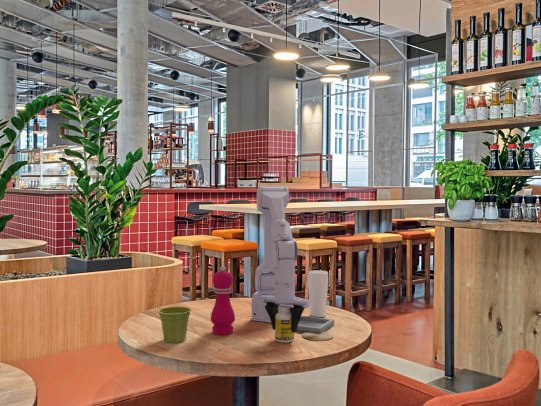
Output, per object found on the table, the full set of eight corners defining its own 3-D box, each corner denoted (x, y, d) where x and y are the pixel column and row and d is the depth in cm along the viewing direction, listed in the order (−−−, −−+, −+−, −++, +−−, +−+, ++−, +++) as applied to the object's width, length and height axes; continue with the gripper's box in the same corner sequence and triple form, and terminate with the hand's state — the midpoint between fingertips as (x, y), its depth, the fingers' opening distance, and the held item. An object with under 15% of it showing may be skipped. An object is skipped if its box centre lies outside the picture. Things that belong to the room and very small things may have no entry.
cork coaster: (297, 338, 152) (297, 336, 152) (309, 330, 160) (309, 329, 160) (326, 342, 148) (327, 341, 148) (337, 334, 156) (337, 333, 156)
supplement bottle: (279, 344, 147) (280, 309, 146) (272, 338, 152) (272, 305, 151) (297, 341, 149) (297, 307, 149) (289, 336, 154) (289, 303, 154)
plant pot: (152, 339, 151) (152, 309, 151) (182, 333, 157) (182, 304, 157) (166, 347, 144) (166, 315, 144) (197, 341, 149) (197, 310, 149)
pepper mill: (224, 327, 164) (224, 263, 163) (239, 332, 158) (239, 266, 158) (205, 332, 158) (205, 265, 158) (221, 337, 153) (221, 268, 153)
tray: (283, 329, 162) (283, 323, 162) (299, 320, 172) (299, 315, 172) (320, 334, 156) (320, 328, 156) (334, 325, 167) (334, 319, 167)
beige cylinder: (327, 318, 175) (327, 273, 175) (306, 317, 176) (306, 273, 176) (328, 314, 182) (329, 270, 181) (309, 313, 183) (309, 269, 183)
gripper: (255, 282, 150) (255, 330, 150) (302, 287, 143) (302, 336, 143) (266, 278, 156) (266, 324, 156) (312, 283, 149) (312, 330, 150)
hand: (284, 330), depth 150 cm, fingers closed on supplement bottle, 5 cm apart
